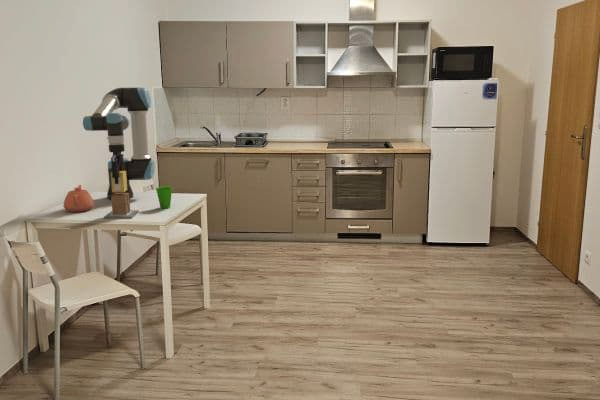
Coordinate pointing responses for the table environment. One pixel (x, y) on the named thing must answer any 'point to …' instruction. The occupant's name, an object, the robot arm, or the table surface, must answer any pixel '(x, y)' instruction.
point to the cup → (164, 196)
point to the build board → (129, 215)
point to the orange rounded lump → (78, 200)
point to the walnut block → (120, 203)
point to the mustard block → (122, 182)
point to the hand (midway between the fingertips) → (119, 188)
